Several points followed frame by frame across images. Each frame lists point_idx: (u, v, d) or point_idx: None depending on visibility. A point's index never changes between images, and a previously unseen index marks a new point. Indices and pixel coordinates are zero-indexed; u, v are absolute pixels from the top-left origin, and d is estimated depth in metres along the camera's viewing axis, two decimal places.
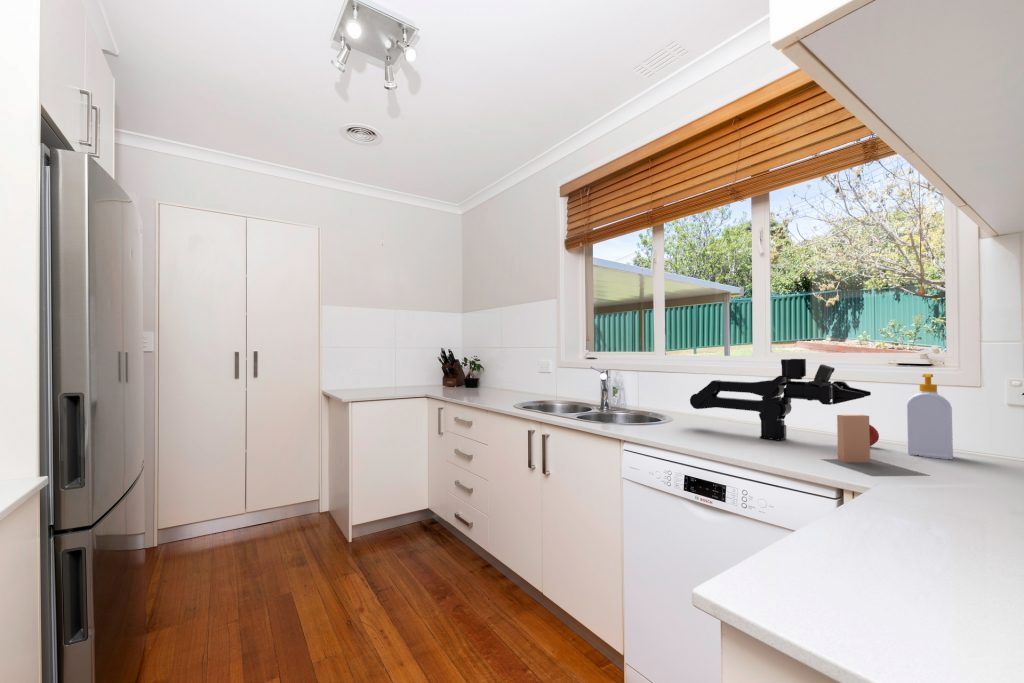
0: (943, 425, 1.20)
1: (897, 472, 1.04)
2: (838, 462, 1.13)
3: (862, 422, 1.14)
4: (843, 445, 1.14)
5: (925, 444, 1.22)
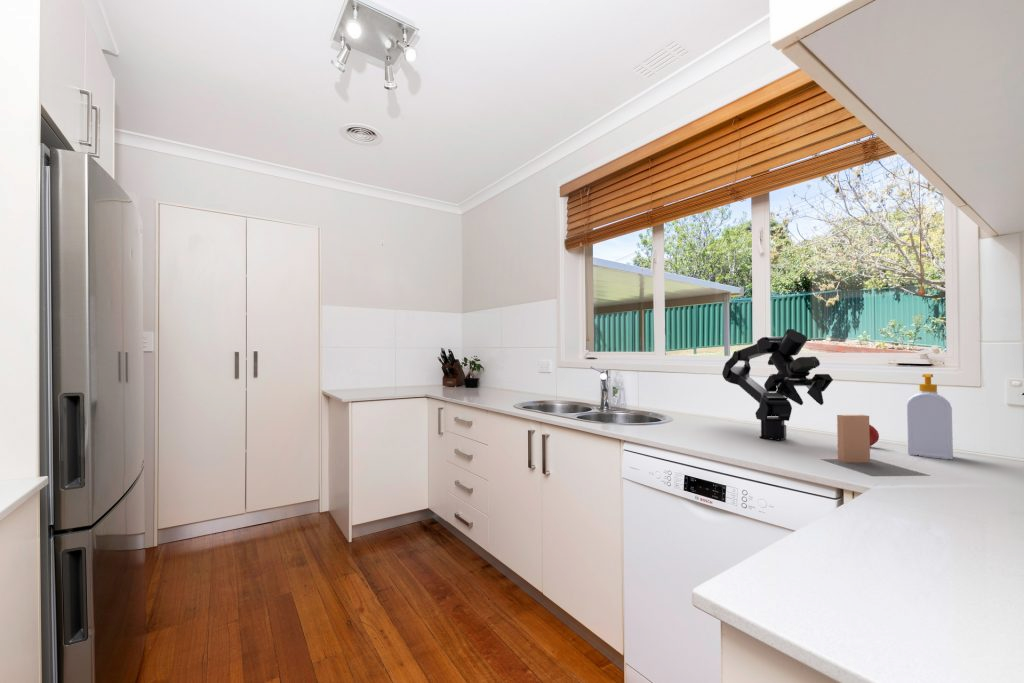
0: (943, 425, 1.20)
1: (897, 472, 1.04)
2: (838, 462, 1.13)
3: (862, 422, 1.14)
4: (843, 445, 1.14)
5: (925, 444, 1.22)
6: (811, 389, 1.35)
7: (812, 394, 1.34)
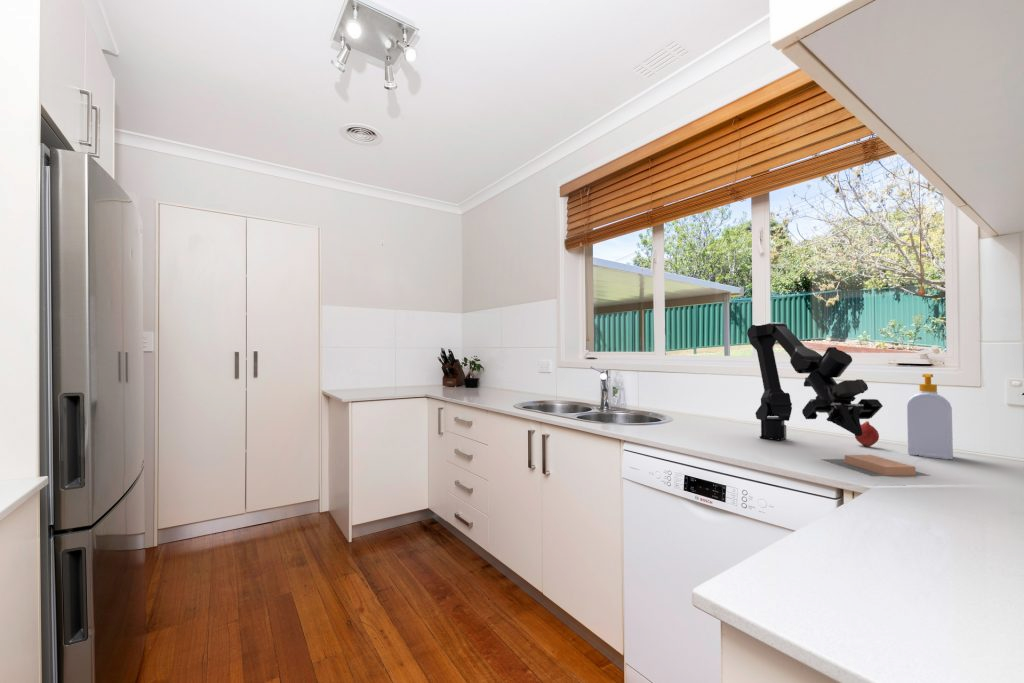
0: (943, 425, 1.20)
1: None
2: (838, 462, 1.13)
3: None
4: (859, 466, 1.09)
5: (925, 444, 1.22)
6: None
7: None
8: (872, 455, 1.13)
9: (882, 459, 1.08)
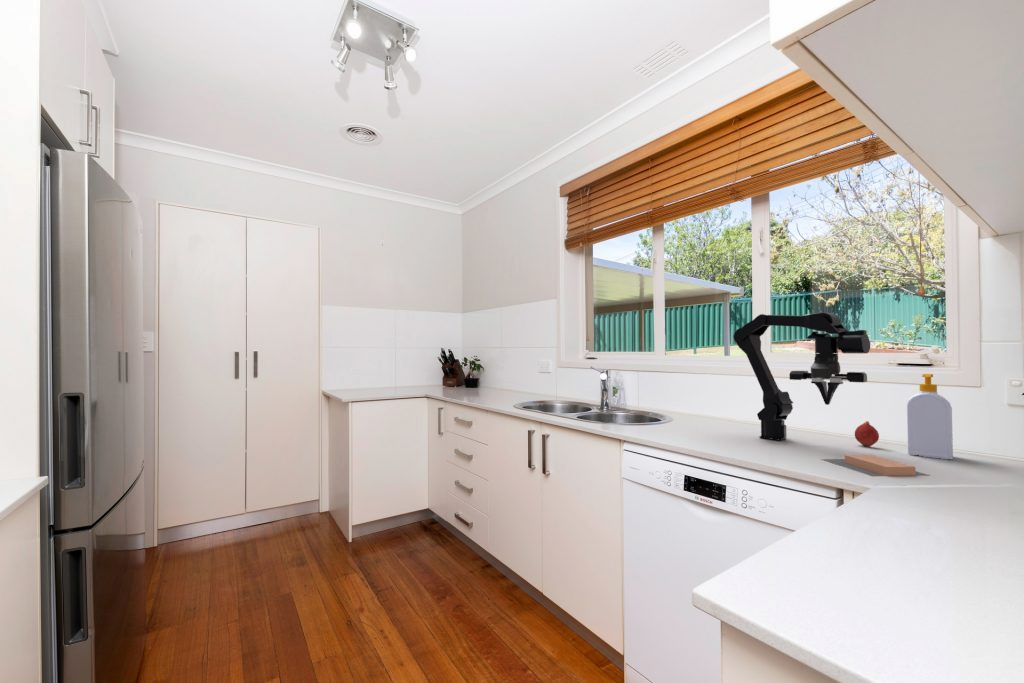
0: (943, 425, 1.20)
1: None
2: (838, 462, 1.13)
3: None
4: (859, 466, 1.09)
5: (925, 444, 1.22)
6: None
7: None
8: (872, 455, 1.13)
9: (882, 459, 1.08)
